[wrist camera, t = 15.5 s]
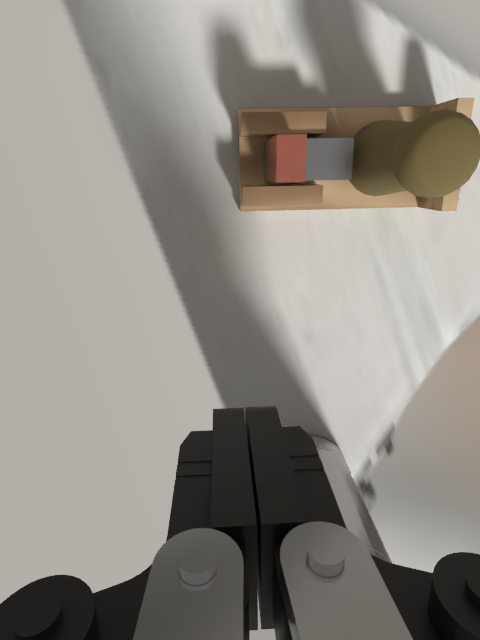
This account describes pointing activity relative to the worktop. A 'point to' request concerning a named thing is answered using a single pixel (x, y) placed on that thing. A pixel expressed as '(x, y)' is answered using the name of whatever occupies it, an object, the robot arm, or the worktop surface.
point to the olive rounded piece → (416, 155)
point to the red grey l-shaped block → (307, 158)
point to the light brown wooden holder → (323, 124)
